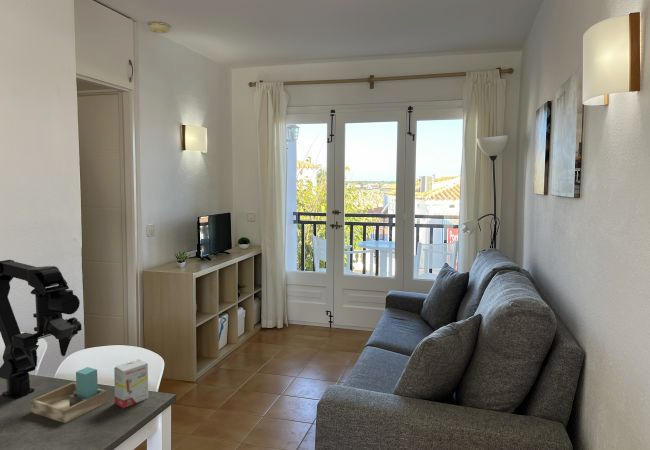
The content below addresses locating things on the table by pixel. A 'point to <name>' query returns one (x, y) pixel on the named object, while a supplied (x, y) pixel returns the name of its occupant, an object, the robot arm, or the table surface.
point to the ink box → (131, 383)
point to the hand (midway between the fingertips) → (49, 361)
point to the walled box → (66, 403)
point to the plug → (86, 383)
